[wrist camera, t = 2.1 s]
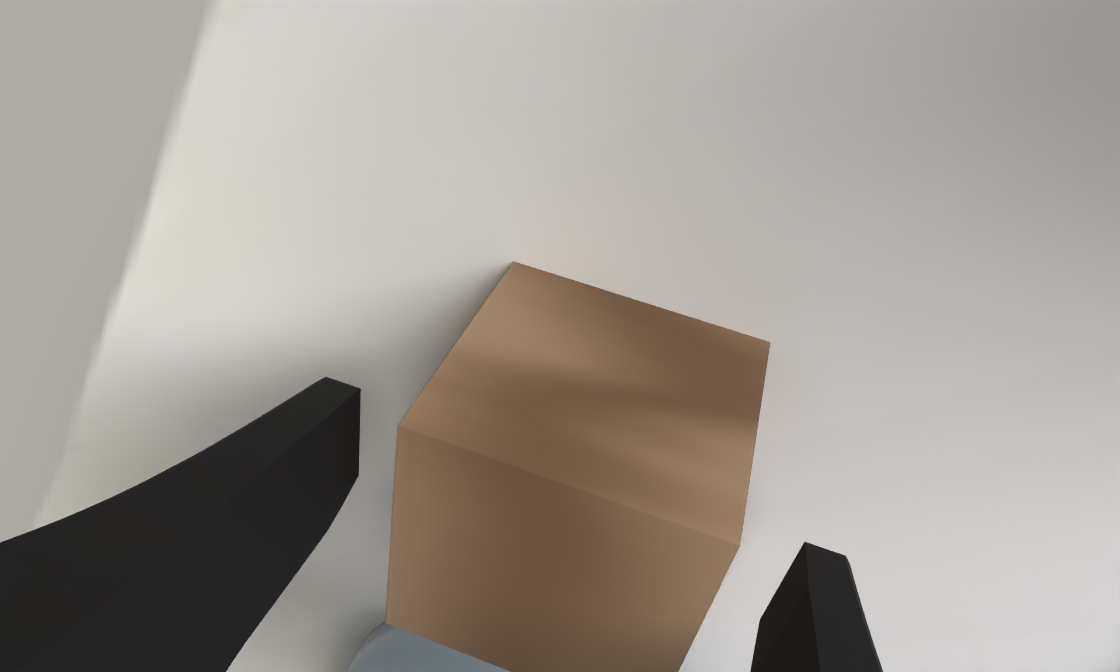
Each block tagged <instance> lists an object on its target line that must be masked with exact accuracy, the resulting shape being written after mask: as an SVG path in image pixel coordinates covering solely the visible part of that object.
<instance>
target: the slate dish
mask: <svg viewBox="0 0 1120 672" xmlns="http://www.w3.org/2000/svg"><path fill="white" fill-rule="evenodd" d="M347 672H511V671H508V670H505V669H503V668H500V667H498V666H495V665H493V664H490V663H487V662H485V661H482V660H480V659H477V658H475V657H472V656H469V655H467V654H464V653H462V652H459V651H457V650H454V649H451V648H449V647H446V646H444V645H441V644H438V643H436V642H433V641H431V640H428V639H426V638H423V637H420V636H418V635H415V634H413V633H410V632H408V631H405V630H402V629H400V628H397V627H395V626H392V625H390V624H387V623H385V622H384V623H383V624H381V625H380V626H379V627H378V628H376V629H375V630H374V631H373V632H371V634H370V635H369V636H368V637H367V639H366V640H365V641H364V642H363V644H362V645H361V647H360V649H359V651H358V653H357V654H356V656H355V658H354V660H353V661H352V663H351V665H350V667H349V668H348V670H347Z"/></svg>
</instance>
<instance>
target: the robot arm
mask: <svg viewBox="0 0 1120 672" xmlns="http://www.w3.org/2000/svg"><path fill="white" fill-rule="evenodd" d="M360 393H361V389H360V388H357V387H354V386H351V385H348V384H345V383H342V382H339V381H337V380H334V379H331V378H328V377H325V378H323V379H321V380H319V381H317V382H316V383H314V384H313V385H311V386H309V387H308V388H306V389H304V390H303V391H301V392H300V393H298V394H296V395H295V396H293V397H292V398H290V399H288V400H287V401H285V402H283V403H282V404H280V405H279V406H277V407H275V408H274V409H272V410H271V411H269V412H267V413H266V414H264V415H262V416H261V417H259V418H257V419H256V420H254V421H252V422H251V423H249V424H248V425H246V426H244V427H242V428H241V429H239V430H237V431H236V432H234V433H232V434H230V435H229V436H227V437H225V438H224V439H222V440H220V441H218V442H217V443H215V444H213V445H212V446H210V447H208V448H206V449H205V450H203V451H201V452H199V453H197V454H196V455H194V456H192V457H190V458H188V459H186V460H184V461H182V462H181V463H179V464H177V465H175V466H173V467H171V468H169V469H167V470H165V471H163V472H162V473H160V474H158V475H156V476H154V477H152V478H150V479H148V480H146V481H144V482H142V483H140V484H138V485H136V486H134V487H132V488H130V489H128V490H126V491H124V492H122V493H120V494H118V495H115V496H113V497H111V498H109V499H107V500H105V501H102V502H100V503H98V504H96V505H93V506H91V507H89V508H87V509H84V510H82V511H80V512H77V513H75V514H73V515H70V516H68V517H66V518H63V519H61V520H58V521H56V522H53V523H51V524H48V525H46V526H43V527H40V528H38V529H35V530H33V531H30V532H27V533H25V534H22V535H20V536H17V537H14V538H11V539H9V540H6V541H3V542H1V543H0V672H226V671H227V669H228V667H229V666H230V664H231V663H232V662H233V660H234V659H235V657H236V656H237V654H238V653H239V651H240V650H241V648H242V647H243V645H244V644H245V642H246V641H247V640H248V638H249V637H250V636H251V634H252V633H253V632H254V630H255V629H256V627H257V626H258V625H259V623H260V622H261V621H262V619H263V618H264V617H265V615H266V614H267V613H268V611H269V610H270V608H271V607H272V606H273V604H274V603H275V602H276V600H277V599H278V598H279V596H280V595H281V594H282V592H283V591H284V589H285V588H286V587H287V585H288V584H289V583H290V581H291V580H292V579H293V577H294V576H295V575H296V573H297V572H298V571H299V569H300V568H301V566H302V565H303V564H304V562H305V561H306V560H307V558H308V557H309V555H310V554H311V553H312V551H313V550H314V549H315V547H316V546H317V544H318V543H319V542H320V540H321V539H322V537H323V536H324V535H325V533H326V532H327V530H328V529H329V527H330V526H331V524H332V522H333V520H334V519H335V517H336V515H337V513H338V512H339V510H340V508H341V507H342V505H343V503H344V501H345V499H346V498H347V496H348V494H349V492H350V490H351V488H352V487H353V485H354V483H355V481H356V479H357V477H358V476H359V438H360ZM751 672H883V670H882V667H881V664H880V661H879V658H878V655H877V653H876V650H875V647H874V643H873V640H872V637H871V634H870V631H869V628H868V625H867V622H866V618H865V615H864V612H863V609H862V605H861V602H860V598H859V595H858V592H857V588H856V585H855V581H854V577H853V574H852V570H851V566H850V563H849V561H848V559H847V558H846V556H844V555H842V554H839V553H836V552H833V551H830V550H827V549H824V548H821V547H818V546H815V545H813V544H810V543H807V542H804V544H803V546H802V547H801V549H800V551H799V553H798V554H797V556H796V558H795V560H794V561H793V563H792V565H791V566H790V568H789V570H788V572H787V573H786V575H785V577H784V579H783V580H782V582H781V584H780V586H779V587H778V589H777V591H776V593H775V594H774V596H773V598H772V600H771V601H770V603H769V605H768V607H767V608H766V610H765V612H764V614H763V615H762V617H761V619H760V622H759V628H758V633H757V638H756V644H755V649H754V654H753V660H752V666H751Z"/></svg>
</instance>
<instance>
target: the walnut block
mask: <svg viewBox="0 0 1120 672" xmlns="http://www.w3.org/2000/svg"><path fill="white" fill-rule="evenodd" d="M769 347H770V342H767V341H764V340H761V339H758V338H755V337H752V336H748V335H745V334H742V333H739V332H736V331H733V330H729V329H726V328H723V327H720V326H717V325H714V324H710V323H707V322H704V321H701V320H698V319H694V318H691V317H688V316H685V315H682V314H679V313H675V312H672V311H669V310H666V309H663V308H660V307H656V306H653V305H650V304H647V303H644V302H641V301H637V300H634V299H631V298H628V297H625V296H622V295H618V294H615V293H612V292H609V291H606V290H602V289H599V288H596V287H593V286H590V285H587V284H583V283H580V282H577V281H574V280H571V279H568V278H564V277H561V276H558V275H555V274H552V273H549V272H545V271H542V270H539V269H536V268H533V267H530V266H526V265H523V264H520V263H517V262H514V261H513V263H512V264H511V266H510V267H509V268H508V270H507V271H506V273H505V274H504V276H503V277H502V278H501V280H500V281H499V283H498V284H497V285H496V287H495V288H494V290H493V291H492V293H491V294H490V295H489V297H488V298H487V300H486V301H485V302H484V304H483V305H482V307H481V308H480V310H479V311H478V312H477V314H476V315H475V317H474V318H473V319H472V321H471V322H470V324H469V325H468V327H467V328H466V329H465V331H464V332H463V334H462V335H461V336H460V338H459V339H458V341H457V342H456V344H455V345H454V346H453V348H452V349H451V351H450V352H449V353H448V355H447V356H446V358H445V359H444V360H443V362H442V363H441V365H440V366H439V368H438V369H437V370H436V372H435V373H434V375H433V376H432V377H431V379H430V380H429V382H428V383H427V385H426V386H425V387H424V389H423V390H422V392H421V393H420V394H419V396H418V397H417V399H416V400H415V402H414V403H413V404H412V406H411V407H410V409H409V410H408V411H407V413H406V414H405V416H404V417H403V419H402V420H401V421H400V423H399V424H398V428H397V444H396V460H395V476H394V492H393V508H392V524H391V540H390V556H389V572H388V588H387V604H386V620H385V623H387V624H390V625H392V626H395V627H397V628H400V629H402V630H405V631H408V632H410V633H413V634H415V635H418V636H420V637H423V638H426V639H428V640H431V641H433V642H436V643H438V644H441V645H444V646H446V647H449V648H451V649H454V650H457V651H459V652H462V653H464V654H467V655H469V656H472V657H475V658H477V659H480V660H482V661H485V662H487V663H490V664H493V665H495V666H498V667H500V668H503V669H505V670H508V671H511V672H678V671H679V669H680V667H681V665H682V663H683V661H684V659H685V657H686V655H687V653H688V651H689V649H690V646H691V644H692V642H693V640H694V638H695V636H696V634H697V632H698V630H699V628H700V626H701V624H702V622H703V620H704V618H705V616H706V614H707V612H708V610H709V608H710V606H711V604H712V602H713V600H714V598H715V595H716V593H717V591H718V589H719V587H720V585H721V583H722V581H723V579H724V577H725V575H726V573H727V571H728V569H729V567H730V565H731V563H732V561H733V559H734V557H735V555H736V553H737V551H738V549H739V547H740V542H741V535H742V529H743V522H744V515H745V508H746V502H747V495H748V488H749V482H750V475H751V468H752V461H753V455H754V448H755V441H756V434H757V428H758V421H759V414H760V408H761V401H762V394H763V387H764V381H765V374H766V367H767V361H768V354H769Z"/></svg>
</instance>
